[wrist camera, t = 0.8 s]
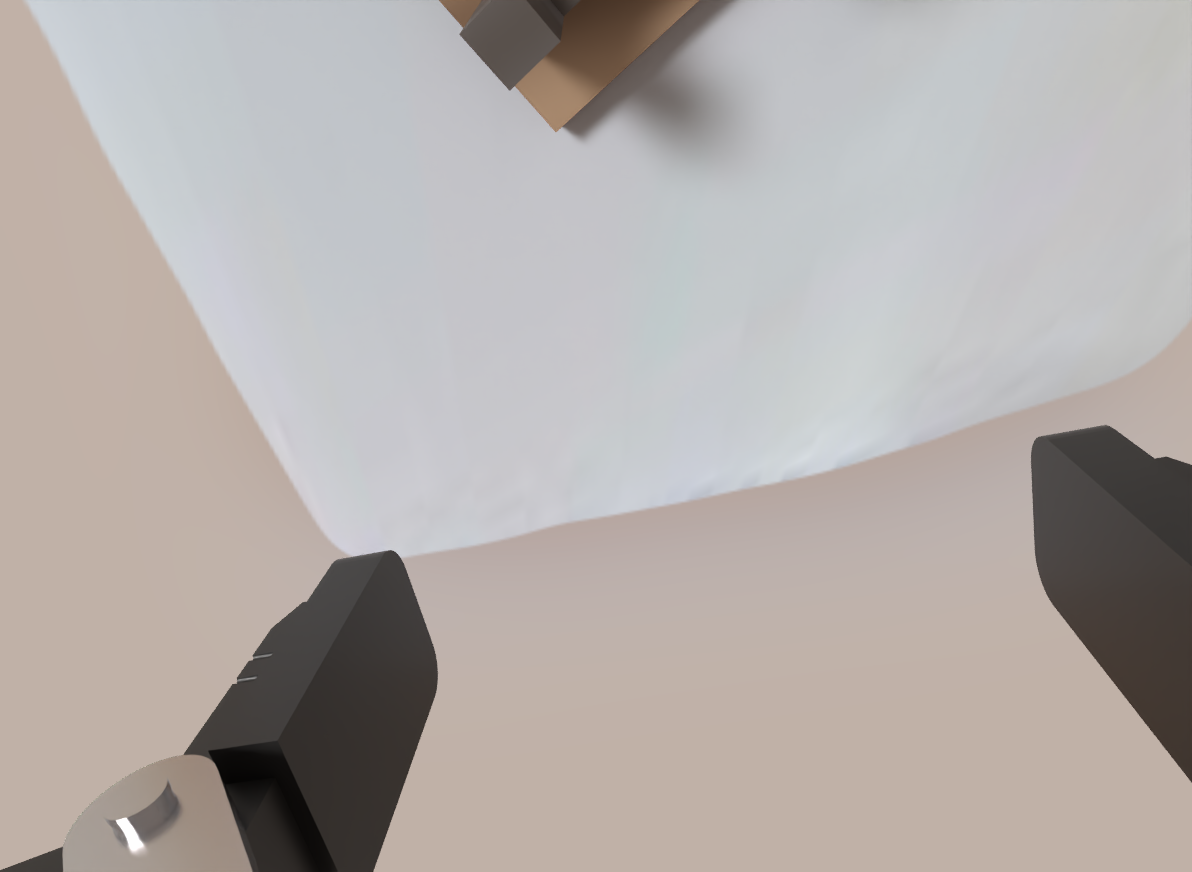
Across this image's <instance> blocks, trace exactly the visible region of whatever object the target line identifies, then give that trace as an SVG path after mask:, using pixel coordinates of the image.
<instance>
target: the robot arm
mask: <svg viewBox="0 0 1192 872" xmlns="http://www.w3.org/2000/svg"><path fill="white" fill-rule="evenodd" d="M1031 468H1032V493H1033V515H1034V540H1035V556H1036V563H1037V567H1038V571H1039V575H1040V578H1041V581H1042V584H1043V586H1044V589H1045V591H1046V593H1047V596H1048V597H1049V599H1050V601H1051V602H1052V604H1053V605H1054V607H1055V608H1056V609H1057V611H1058V612H1059V613H1060V614H1061V616H1062V617H1063V618H1064V619H1065V620H1066V622H1067V623H1068V624H1069V626H1070V627H1071V628H1072V630H1073V631H1074V632H1075V633H1076V635H1077V636H1078V637H1079V639H1080V640H1081V641H1082V642H1083V644H1084V645H1085V646H1086V648H1087V649H1088V650H1089V651H1090V653H1091V654H1092V655H1093V657H1094V658H1095V659H1096V660H1097V662H1098V663H1099V664H1100V666H1101V667H1102V668H1103V669H1104V671H1105V672H1106V673H1107V675H1108V676H1109V677H1110V678H1111V680H1112V681H1113V682H1114V684H1115V685H1116V686H1117V687H1118V689H1119V690H1120V691H1121V692H1122V694H1123V695H1124V696H1125V698H1126V699H1127V700H1128V701H1129V703H1130V704H1131V705H1132V707H1133V708H1134V709H1135V710H1136V712H1137V713H1138V714H1139V716H1140V717H1141V718H1142V719H1143V721H1144V722H1145V723H1146V724H1147V726H1148V727H1149V728H1150V730H1151V731H1152V732H1153V733H1154V735H1155V736H1156V737H1157V739H1158V740H1159V741H1160V742H1161V744H1162V745H1163V746H1164V748H1165V749H1166V750H1167V751H1168V753H1169V754H1170V755H1171V757H1172V758H1173V759H1174V760H1175V762H1176V763H1177V764H1178V766H1179V767H1180V768H1181V769H1182V771H1183V772H1184V773H1185V774H1186V776H1187V777H1188V778H1189V780H1190V781H1191V782H1192V465H1190V464H1187V463H1184V462H1181V461H1178V460H1175V459H1172V458H1169V457H1162V458H1156V459H1154V458H1153V457H1152V456H1150V455H1149V454H1148V453H1146V452H1145V451H1143V450H1142V449H1141V448H1139V447H1138V446H1137V445H1135V444H1134V443H1133V442H1131V441H1130V440H1128V439H1127V438H1126V437H1124V436H1123V435H1122V434H1120V433H1119V432H1118V431H1116V430H1115V429H1113V428H1111V427H1110V426H1107V425H1105V426H1097V427H1092V428H1086V429H1080V430H1075V431H1069V432H1063V433H1058V434H1052V435H1046V436H1041V437H1038V438H1036V440H1035V441H1034V444H1033V446H1032V452H1031ZM437 680H438V671H437V660H436V654H435V651H434V647H433V644H432V641H431V638H430V635H429V632H428V630H427V627H426V624H425V622H424V618H423V616H422V613H421V610H420V607H419V605H418V602H417V599H416V596H415V593H414V591H413V588H412V585H411V582H410V579H409V577H408V574H407V571H406V568H405V566H404V563H403V562H402V560H401V558H400V557H399V555H398V554H397V553H396V552H394V551H391V550H389V551H383V552H377V553H372V554H366V555H360V556H355V557H350V558H344V559H338V560H336V561H335V562H334V563H333V564H332V565H331V567H330V568H329V569H328V571H327V573H326V574H325V576H324V577H323V578H322V580H321V581H320V583H319V585H318V586H317V588H316V589H315V590H314V592H313V594H312V595H311V596H310V598H309V599H308V601H307V602H303V603H301V604H300V605H299V606H298V607H297V608H296V609H294V610H293V611H292V612H291V613H289V614H288V615H287V616H286V617H285V618H284V619H282V620H281V621H280V622H279V623H277V624H276V625H275V626H274V627H273V628H272V629H271V630H270V632H269V633H268V634H267V636H266V637H265V639H264V640H263V641H262V643H261V644H260V646H259V647H258V649H257V650H256V651H255V653H254V654H253V660H252V661H249V662H248V663H247V664H246V666H245V667H244V669H243V670H242V672H241V673H240V674H239V676H238V677H237V684H232V686H231V688H230V689H229V690H228V692H227V693H226V694H225V696H224V697H223V699H222V700H221V702H220V703H219V704H218V706H217V707H216V709H215V710H214V712H213V713H212V714H211V716H210V717H209V719H208V720H207V722H206V723H205V724H204V726H203V728H202V729H201V730H200V732H199V733H198V735H197V736H196V737H195V739H194V740H193V742H192V743H191V745H190V746H189V747H188V749H187V750H186V752H185V753H184V755H181V756H175V757H171V758H167V759H164V760H161V761H158V762H156V763H153V764H150V765H148V766H146V767H143V768H141V769H139V770H137V771H135V772H134V773H132V774H130V775H128V776H127V777H125V778H123V779H122V780H120V781H119V782H117V783H116V784H114V785H113V786H111V787H110V788H109V789H107V790H106V791H105V792H104V793H102V794H101V795H100V796H99V797H98V798H96V799H95V800H94V801H93V802H92V803H91V804H90V805H89V806H88V807H87V808H86V809H85V810H84V812H82V814H81V815H80V816H79V817H78V818H77V820H76V822H75V823H74V824H73V825H72V827H71V829H70V830H69V832H68V834H67V836H66V839H65V842H64V845H63V847H61V848H58V849H56V850H53V851H51V852H48V853H45V854H42V855H40V856H37V857H34V858H32V859H29V860H26V861H24V862H21V863H18V864H16V865H13V866H11V867H8V868H5V869H3V870H0V872H373V870H374V868H375V865H376V862H377V859H378V856H379V854H380V851H381V848H382V845H383V842H384V839H385V837H386V834H387V831H388V828H389V825H390V822H391V820H392V817H393V814H394V811H395V808H396V805H397V803H398V800H399V797H400V794H401V791H402V788H403V785H404V783H405V780H406V777H407V774H408V771H409V768H410V765H411V763H412V760H413V757H414V754H415V751H416V749H417V746H418V743H419V740H420V737H421V734H422V732H423V729H424V726H425V723H426V720H427V717H428V715H429V712H430V709H431V706H432V703H433V700H434V698H435V694H436V690H437Z"/></svg>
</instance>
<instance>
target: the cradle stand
mask: <svg viewBox="0 0 1192 872" xmlns="http://www.w3.org/2000/svg"><path fill="white" fill-rule="evenodd" d="M439 1H440V2H441V3H442V4H443V5H444V7H445V8H446V9H447V10H448V11H449V12H450V13H451V14H452V16H453V17H454V18H455V19H456V20H457V21H458V22H459V23H460V25H461V26H462V27H463V30H462V31H461V33H460V36H461V37H462V38H463V39H464V40H465V41H466V42H467V43H468V44H469V46H470V47H471V48H472V49H473V50H474V51H475V52H476V53H477V55H478V56H479V57H480V58H481V59H482V60H483V61H484V62H485V64H486V65H487V66H488V67H489V68H490V69H491V70H492V71H493V73H494V74H495V75H496V76H497V77H498V78H499V79H500V80H501V81H502V83H503V84H504V85H505V86H506V87H507V88H508V89H509V90H511V89H512V88H513V87H514V86H515V87H516V88H517V89H518V90H519V91H520V92H521V93H522V95H523V96H524V97H525V98H526V99H527V100H528V101H529V103H530V104H531V105H532V106H533V107H534V108H535V109H536V110H537V112H538V113H539V114H540V115H541V116H542V117H543V118H544V119H545V121H546V122H547V123H548V124H549V125H550V126H551V127H552V128H553V130H554V131H555V132H557V131H558V130H559V129H560V128H561V127H562V126H563V125H565V124H566V123H567V122H568V121H569V120H570V119H571V118H572V117H573V116H574V115H575V114H576V113H578V112H579V111H580V110H581V109H582V108H583V107H584V106H585V105H586V104H587V103H588V102H589V101H591V100H592V99H593V98H594V97H595V96H596V95H597V94H598V93H599V92H600V91H601V90H602V89H604V88H605V87H606V86H607V85H608V84H609V83H610V82H611V81H612V80H613V79H614V78H616V77H617V76H618V75H619V74H620V73H621V72H622V71H623V70H624V69H625V68H626V67H627V66H629V65H630V64H631V63H632V62H633V61H634V60H635V59H636V58H637V57H638V56H639V55H640V54H642V53H643V52H644V51H645V50H646V49H647V48H648V47H649V46H650V45H651V44H652V43H653V42H655V41H656V40H657V39H658V38H659V37H660V36H661V35H662V34H663V33H664V32H665V31H666V30H668V29H669V28H670V27H671V26H672V25H673V24H674V23H675V22H676V21H677V20H678V19H679V18H681V17H682V16H683V15H684V14H685V13H686V12H687V11H688V10H689V9H690V8H691V7H693V6H694V5H695V4H696V3H697V2H698V1H699V0H439Z"/></svg>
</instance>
